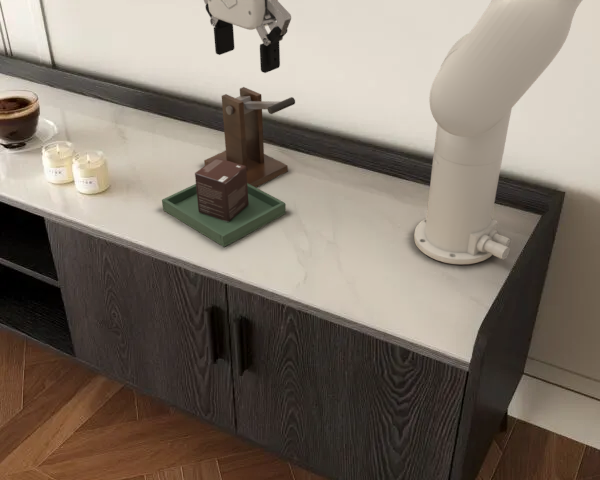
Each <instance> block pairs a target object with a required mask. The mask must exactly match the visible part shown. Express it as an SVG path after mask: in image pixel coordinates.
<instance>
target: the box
mask: <svg viewBox="0 0 600 480" xmlns="http://www.w3.org/2000/svg"><path fill="white" fill-rule="evenodd" d="M194 178H195V184H196V190H197V200H198V210H199V212H200V213H202V214H205V215H209V216H212V217H215V218H218V219H220V220H223V221H226V222H229V221H230V220H231V219H232V218H234V217H235V216H236V215H237V214H238V213H239V212H241V211H242V210H243V209H244V208H245V207H247V206H248V205H249V202H248V186H247V171H246V166H244V165H240V164H237V163H233V162H230V161H227V160H223V159H220V158H215V159H214V160H212V161H211V162H210V163H208V164H207V165H205V164H204V166H202V167H201V168H200V169H198V170H196V172H194Z"/></svg>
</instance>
